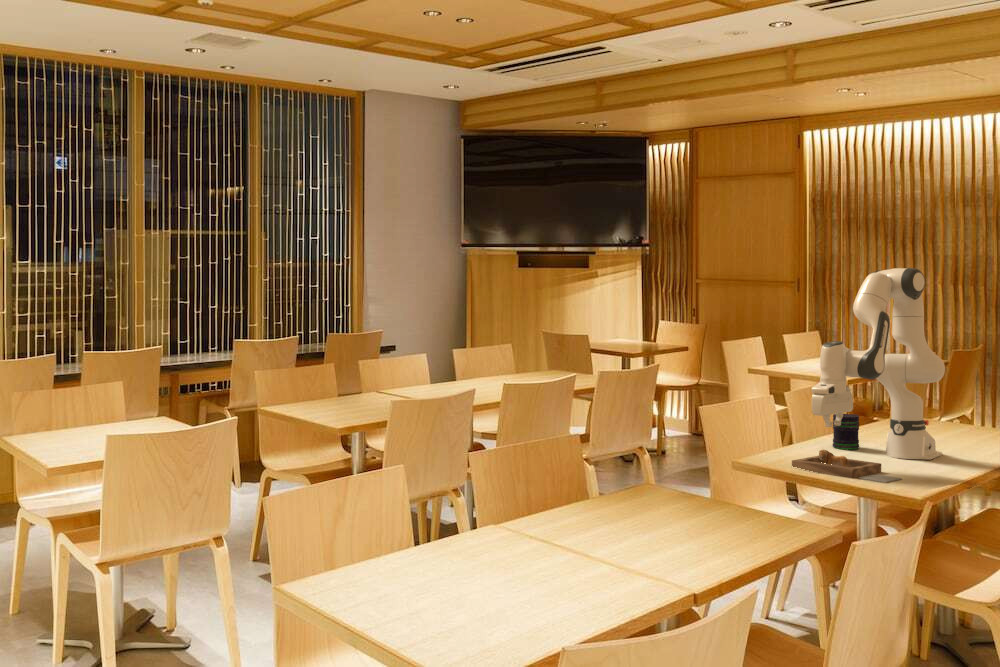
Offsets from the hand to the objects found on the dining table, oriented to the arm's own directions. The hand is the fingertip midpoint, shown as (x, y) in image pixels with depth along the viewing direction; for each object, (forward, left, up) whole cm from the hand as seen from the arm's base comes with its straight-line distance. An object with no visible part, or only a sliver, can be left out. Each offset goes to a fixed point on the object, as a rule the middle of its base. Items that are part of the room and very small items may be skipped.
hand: (833, 426), depth 339 cm
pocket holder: (0, +1, -16) cm, 16 cm away
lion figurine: (+1, +2, -16) cm, 16 cm away
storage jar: (-36, -18, -16) cm, 43 cm away
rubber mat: (+3, +20, -16) cm, 26 cm away
